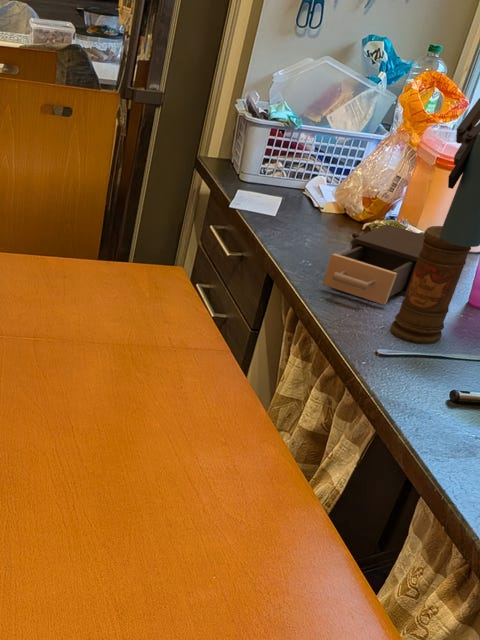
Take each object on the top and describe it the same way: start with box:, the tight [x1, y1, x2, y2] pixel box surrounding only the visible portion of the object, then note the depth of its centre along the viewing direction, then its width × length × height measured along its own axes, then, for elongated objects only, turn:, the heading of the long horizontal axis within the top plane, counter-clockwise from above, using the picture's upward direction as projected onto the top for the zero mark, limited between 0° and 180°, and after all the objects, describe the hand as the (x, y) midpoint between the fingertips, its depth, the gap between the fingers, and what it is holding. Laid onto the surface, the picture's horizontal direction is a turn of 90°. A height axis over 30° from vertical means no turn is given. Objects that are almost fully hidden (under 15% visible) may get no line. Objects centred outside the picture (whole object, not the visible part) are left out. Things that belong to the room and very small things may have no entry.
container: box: [390, 225, 472, 345], centre depth 165 cm, size 9×9×18 cm
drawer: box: [322, 245, 416, 306], centre depth 184 cm, size 20×13×6 cm, turn 139°
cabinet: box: [350, 224, 425, 298], centre depth 192 cm, size 17×14×8 cm
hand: (473, 188), depth 141 cm, fingers closed on bottle, 6 cm apart
